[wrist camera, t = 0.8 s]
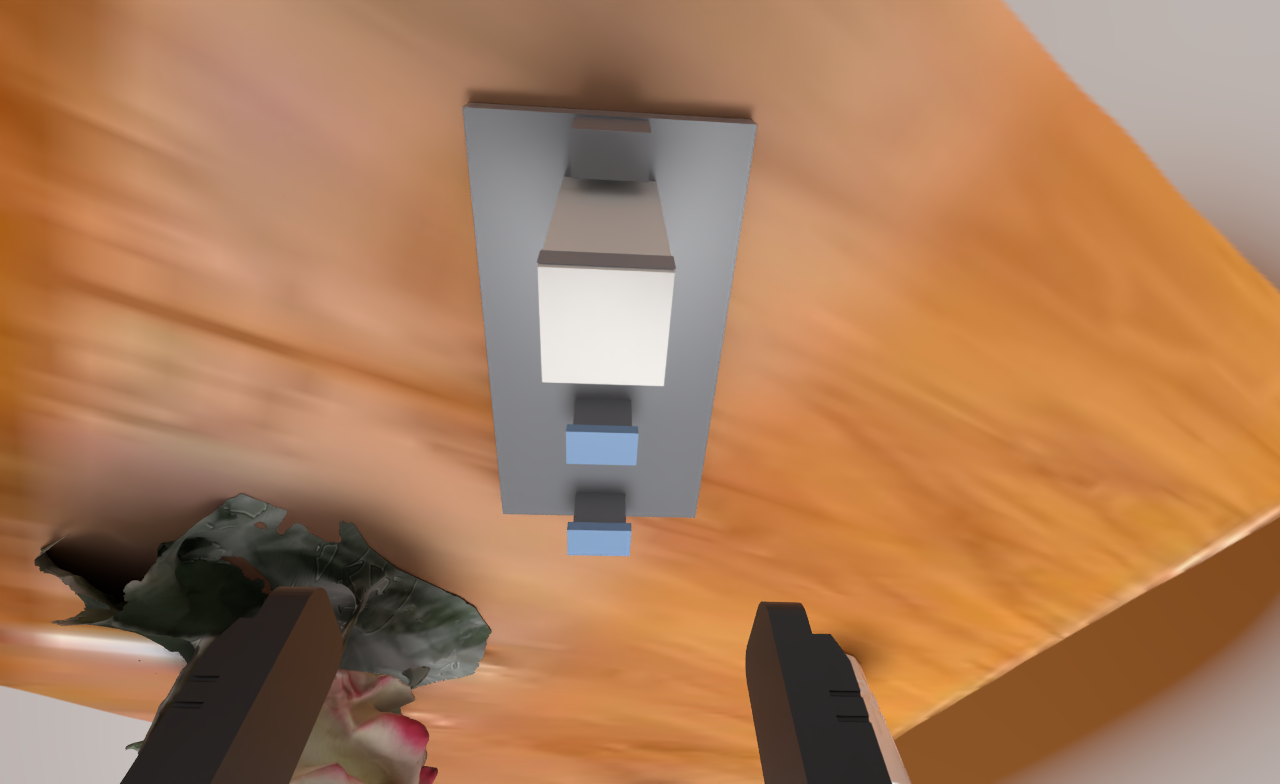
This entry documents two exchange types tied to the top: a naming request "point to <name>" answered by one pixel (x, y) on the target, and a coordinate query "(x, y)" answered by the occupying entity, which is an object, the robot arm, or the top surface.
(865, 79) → the top surface
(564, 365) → the plug
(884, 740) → the white cup
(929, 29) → the top surface
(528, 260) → the mounting plate with blocks
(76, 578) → the rose bouquet
